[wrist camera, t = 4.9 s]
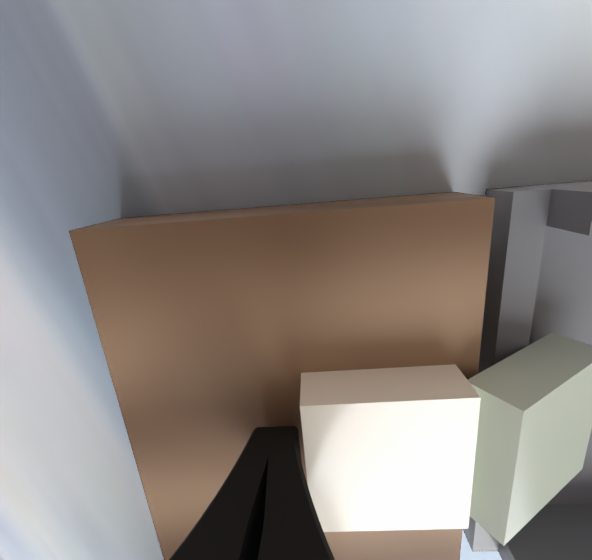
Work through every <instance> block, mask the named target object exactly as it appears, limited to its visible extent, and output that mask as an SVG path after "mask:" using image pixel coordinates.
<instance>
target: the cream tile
mask: <svg viewBox="0 0 592 560" xmlns="http://www.w3.org/2000/svg"><path fill="white" fill-rule="evenodd" d="M480 400H481V397H480V396H479V395H478V393H477V392H476V391H475V389H474V388H473V387H472V385H471V384H470V383H469V381H468V380H467V379H466V377H465V376H464V375H463V373H462V372H461V371H460V369H459V368H458V367H457V365H456V364H452V365H434V366H415V367H397V368H379V369H361V370H343V371H325V372H306V373H301V388H300V414H301V424H302V434H303V443H304V453H305V463H306V473H307V483H308V488H309V492H310V495H311V498H312V501H313V504H314V507H315V510H316V513H317V516H318V518H319V521H320V524H321V527H322V529H323V532H349V531H390V530H432V529H468V526H469V515H470V505H471V494H472V484H473V473H474V463H475V452H476V442H477V431H478V421H479V411H480Z"/></svg>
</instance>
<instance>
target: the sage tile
mask: <svg viewBox="0 0 592 560" xmlns="http://www.w3.org/2000/svg"><path fill="white" fill-rule="evenodd" d="M468 381H469V383H470V384H471V385H472V387H473V388H474V389H475V391H476V392H477V393H478V395H479V396H480V397H481V400H480V411H479V421H478V431H477V442H476V452H475V463H474V473H473V484H472V494H471V505H470V515H469V516H470V517H471V518H472V519H474V520H475V521H476V522H477V523H478V524H479V525H480V526H481V527H483V528H484V529H485V530H486V531H487V532H488V533H489V534H491V535H492V536H493V537H494V538H495V539H496V540H497V541H498V542H500V543H501V544H502V545H503V546H504V545H505V544H506V543H508V542H509V541H510V540H511V539H512V538H513V537H514V536H515V535H516V534H517V533H518V532H519V531H520V530H521V529H522V528H523V527H524V526H525V525H526V524H527V523H528V522H529V521H530V520H531V519H532V518H533V517H534V516H535V515H536V514H537V513H538V512H539V511H540V510H541V509H542V508H543V507H544V506H545V505H546V504H547V503H548V502H549V501H550V500H551V499H552V498H553V497H554V496H555V495H556V494H557V493H558V492H559V491H560V490H561V489H562V488H563V487H564V486H565V485H566V484H567V483H568V482H569V481H570V480H571V479H572V478H574V477H575V476H576V475H577V474H578V473H579V472H580V471H581V470H582V468H583V464H584V459H585V455H586V451H587V446H588V442H589V437H590V433H591V429H592V345H589V344H586V343H583V342H580V341H577V340H574V339H570V338H567V337H564V336H561V335H558V334H555V333H550V334H548V335H546V336H545V337H543V338H541V339H539V340H537V341H536V342H534V343H532V344H530V345H529V346H527V347H525V348H523V349H521V350H520V351H518V352H516V353H514V354H512V355H511V356H509V357H507V358H505V359H504V360H502V361H500V362H498V363H496V364H495V365H493V366H491V367H489V368H487V369H486V370H484V371H482V372H480V373H478V374H477V375H475V376H473V377H471V378H470V379H468Z"/></svg>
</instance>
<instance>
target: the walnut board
mask: <svg viewBox="0 0 592 560" xmlns="http://www.w3.org/2000/svg"><path fill="white" fill-rule="evenodd" d="M494 205H495V198H493V197H486V196H479V195H472V194H465V193H458V192H445V193H432V194H420V195H407V196H395V197H382V198H369V199H357V200H344V201H332V202H319V203H306V204H294V205H281V206H269V207H256V208H243V209H231V210H218V211H205V212H193V213H180V214H168V215H155V216H142V217H130V218H119V219H115V220H111V221H107V222H103V223H99V224H95V225H91V226H87V227H83V228H79V229H75V230H71V231H69V233H70V236H71V240H72V243H73V247H74V250H75V254H76V257H77V260H78V264H79V267H80V271H81V274H82V278H83V281H84V285H85V288H86V292H87V295H88V298H89V302H90V305H91V309H92V312H93V316H94V319H95V323H96V326H97V329H98V333H99V336H100V340H101V343H102V347H103V350H104V354H105V357H106V361H107V364H108V367H109V371H110V374H111V378H112V381H113V385H114V388H115V392H116V395H117V398H118V402H119V405H120V409H121V412H122V416H123V419H124V423H125V426H126V430H127V433H128V436H129V440H130V443H131V447H132V450H133V454H134V457H135V461H136V464H137V468H138V471H139V474H140V478H141V481H142V485H143V488H144V492H145V495H146V499H147V502H148V505H149V509H150V512H151V516H152V519H153V523H154V526H155V530H156V533H157V537H158V540H159V543H160V547H161V550H162V554H163V557H164V560H169V559H170V557H171V556H172V555H173V554H174V552H175V551H176V550H177V549H178V547H179V546H180V545H181V544H182V542H183V541H184V540H185V538H186V537H187V536H188V534H189V533H190V532H191V530H192V529H193V527H194V526H195V525H196V523H197V522H198V521H199V519H200V518H201V516H202V515H203V513H204V512H205V510H206V509H207V507H208V506H209V505H210V503H211V502H212V500H213V499H214V497H215V496H216V494H217V493H218V491H219V490H220V488H221V486H222V485H223V483H224V482H225V480H226V478H227V477H228V475H229V473H230V472H231V470H232V469H233V467H234V465H235V463H236V462H237V460H238V458H239V456H240V455H241V453H242V451H243V449H244V447H245V446H246V444H247V442H248V440H249V438H250V436H251V434H252V432H253V430H254V429H255V428H256V427H276V426H295V427H297V428H298V431H299V441H300V450H301V460H302V466H303V470H304V474H305V478H306V481H307V473H306V463H305V453H304V443H303V434H302V424H301V414H300V388H301V373H306V372H325V371H343V370H361V369H379V368H397V367H415V366H434V365H452V364H456V365H457V367H458V368H459V369H460V371H461V372H462V373H463V375H464V376H465V377H466V379H467V380H468V379H470V378H471V377H473V376H475V375H477V374H478V367H479V357H480V347H481V336H482V326H483V316H484V306H485V296H486V286H487V276H488V265H489V255H490V245H491V235H492V225H493V215H494ZM307 485H308V483H307ZM324 534H325V537H326V539H327V542H328V544H329V547H330V549H331V552H332V554H333V556H334V559H335V560H460V549H461V539H462V529H432V530H390V531H349V532H324Z"/></svg>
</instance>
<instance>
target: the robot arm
mask: <svg viewBox="0 0 592 560" xmlns="http://www.w3.org/2000/svg"><path fill="white" fill-rule="evenodd" d="M169 560H335V559H334V556H333V554H332V552H331V549H330V547H329V544H328V542H327V539H326V537H325V534H324V532H323V529H322V527H321V524H320V521H319V518H318V516H317V513H316V510H315V507H314V504H313V501H312V498H311V495H310V492H309V488H308V485H307V481H306V478H305V474H304V470H303V466H302V460H301V450H300V441H299V431H298V428H297V427H295V426H276V427H256V428H255V429H254V430H253V432H252V434H251V436H250V438H249V440H248V442H247V444H246V446H245V447H244V449H243V451H242V453H241V455H240V456H239V458H238V460H237V462H236V463H235V465H234V467H233V469H232V470H231V472H230V473H229V475H228V477H227V478H226V480H225V482H224V483H223V485H222V486H221V488H220V490H219V491H218V493H217V494H216V496H215V497H214V499H213V500H212V502H211V503H210V505H209V506H208V507H207V509H206V510H205V512H204V513H203V515H202V516H201V518H200V519H199V521H198V522H197V523H196V525H195V526H194V527H193V529H192V530H191V532H190V533H189V534H188V536H187V537H186V538H185V540H184V541H183V542H182V544H181V545H180V546H179V547H178V549H177V550H176V551H175V552H174V554H173V555H172V556H171V557H170V559H169Z"/></svg>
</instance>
